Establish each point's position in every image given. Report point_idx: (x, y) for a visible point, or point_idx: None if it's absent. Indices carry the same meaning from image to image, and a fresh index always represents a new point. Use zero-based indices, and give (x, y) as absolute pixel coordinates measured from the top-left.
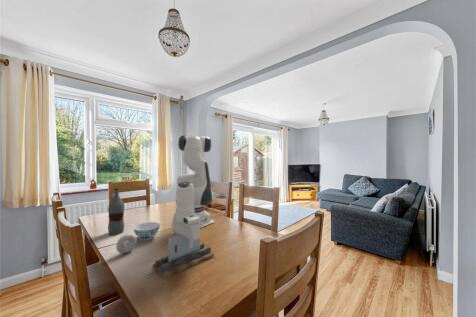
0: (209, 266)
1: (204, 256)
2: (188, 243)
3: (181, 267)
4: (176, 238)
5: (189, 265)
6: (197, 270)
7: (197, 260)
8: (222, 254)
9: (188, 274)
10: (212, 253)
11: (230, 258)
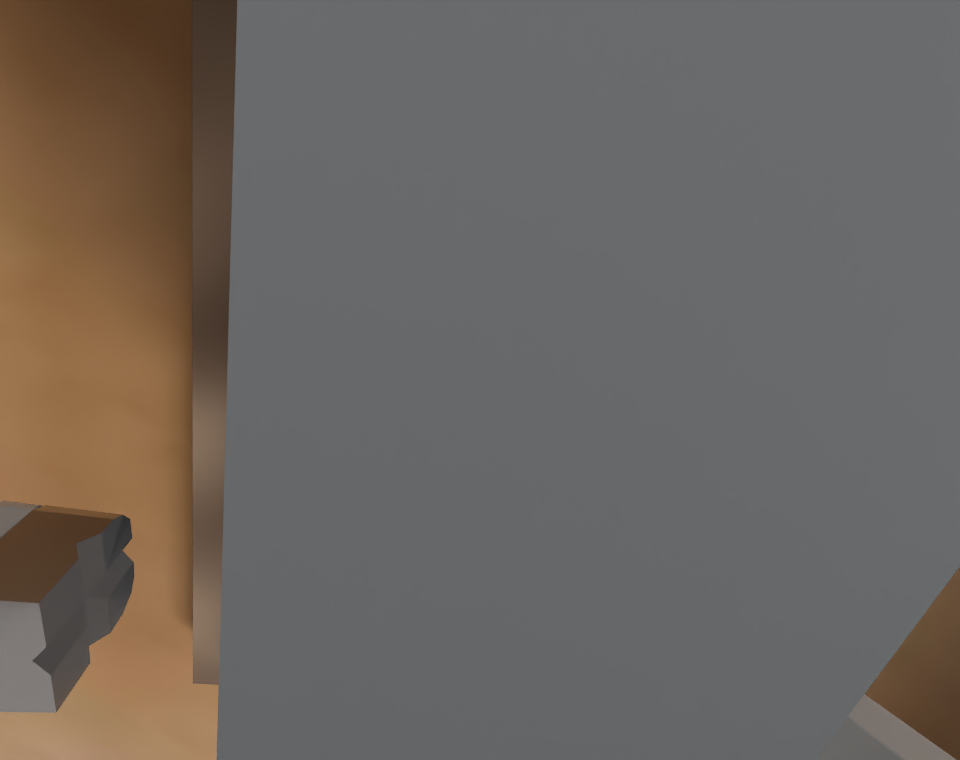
0: (16, 476)
1: (221, 581)
2: (28, 620)
3: (199, 145)
4: (252, 400)
5: (203, 306)
6: (38, 308)
7: (199, 459)
8: (169, 722)
9: (27, 136)
10: (209, 678)
11: (8, 718)
